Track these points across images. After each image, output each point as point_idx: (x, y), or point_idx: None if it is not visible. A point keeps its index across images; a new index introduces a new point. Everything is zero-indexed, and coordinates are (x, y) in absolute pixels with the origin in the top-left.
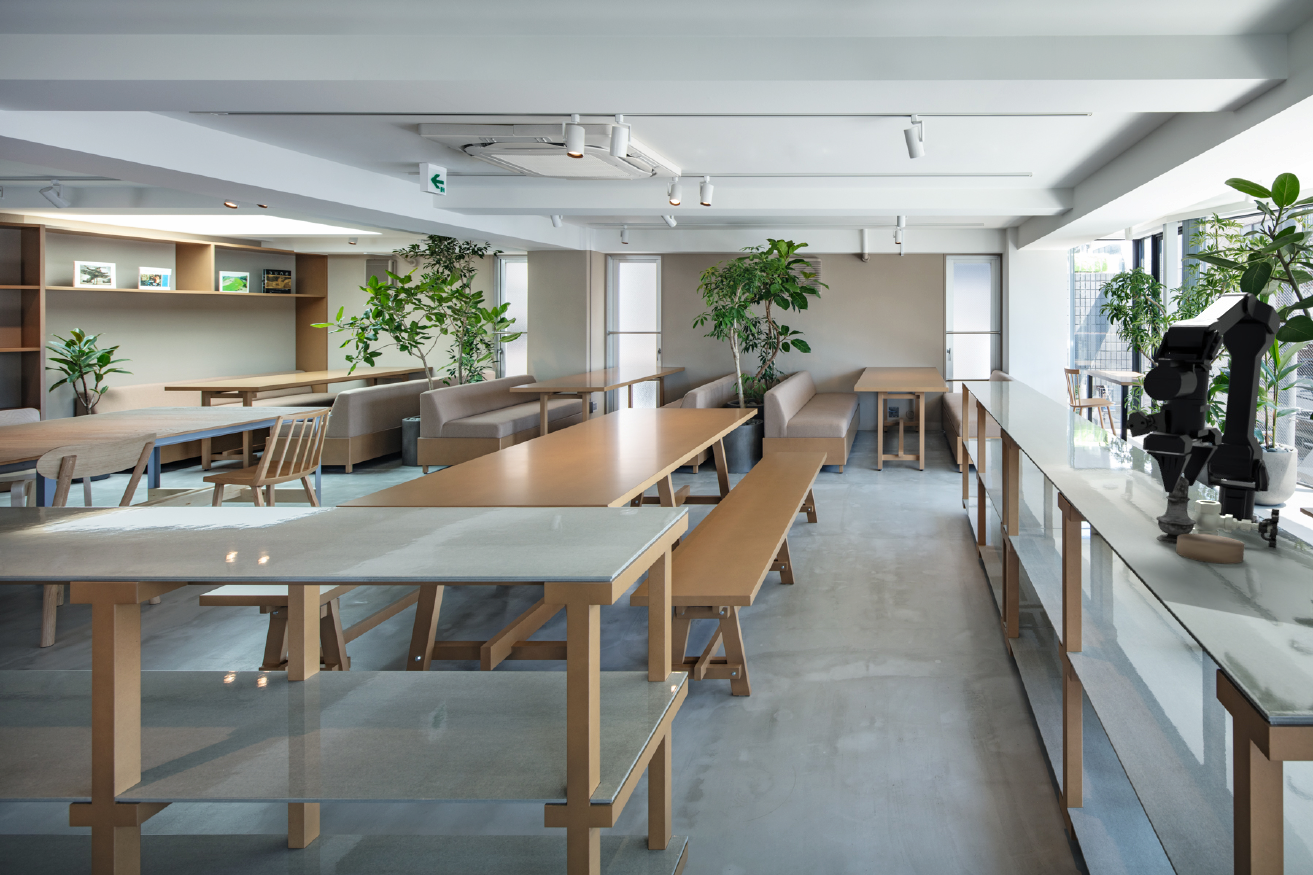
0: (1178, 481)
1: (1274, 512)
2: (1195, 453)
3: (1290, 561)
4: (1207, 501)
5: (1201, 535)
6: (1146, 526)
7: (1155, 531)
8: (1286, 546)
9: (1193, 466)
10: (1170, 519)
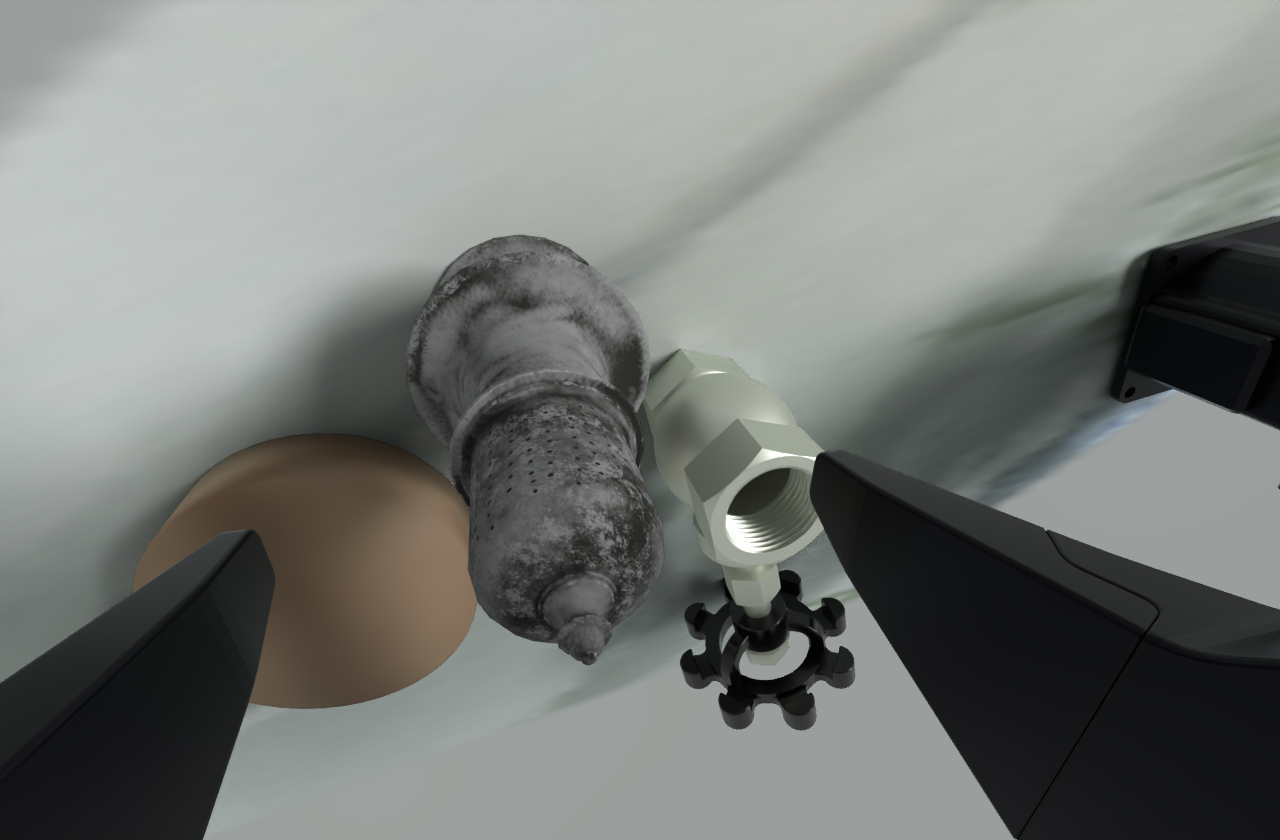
0: (226, 737)
1: (784, 712)
2: (1139, 816)
3: (547, 690)
4: None
5: (397, 540)
6: (776, 51)
7: (668, 158)
8: None
9: (952, 641)
10: (440, 382)
